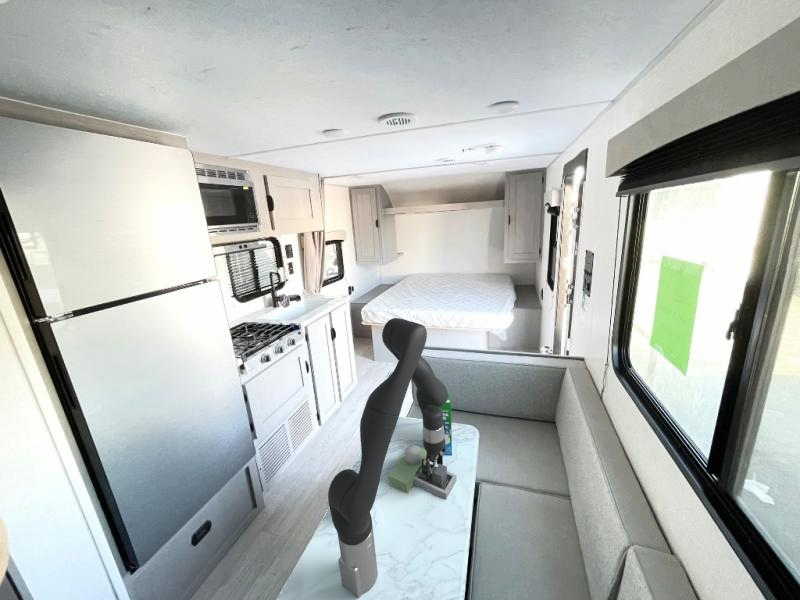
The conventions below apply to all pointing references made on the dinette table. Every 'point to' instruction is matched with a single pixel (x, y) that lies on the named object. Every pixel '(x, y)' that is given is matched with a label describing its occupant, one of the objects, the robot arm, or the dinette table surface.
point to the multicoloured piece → (416, 473)
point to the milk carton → (447, 426)
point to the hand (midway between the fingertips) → (434, 472)
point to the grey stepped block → (436, 476)
